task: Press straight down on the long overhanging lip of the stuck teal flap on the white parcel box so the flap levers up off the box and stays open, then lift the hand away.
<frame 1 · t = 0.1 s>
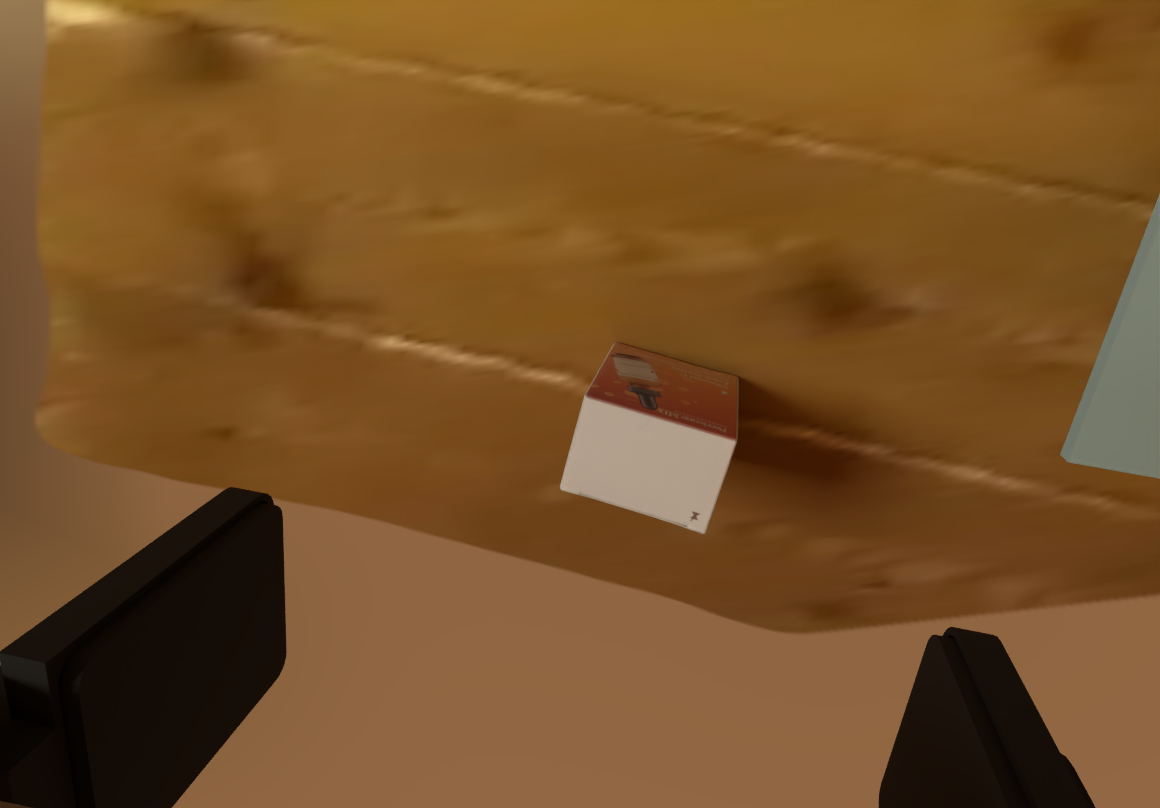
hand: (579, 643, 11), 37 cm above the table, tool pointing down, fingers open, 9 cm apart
small box: (663, 397, 48), on the table
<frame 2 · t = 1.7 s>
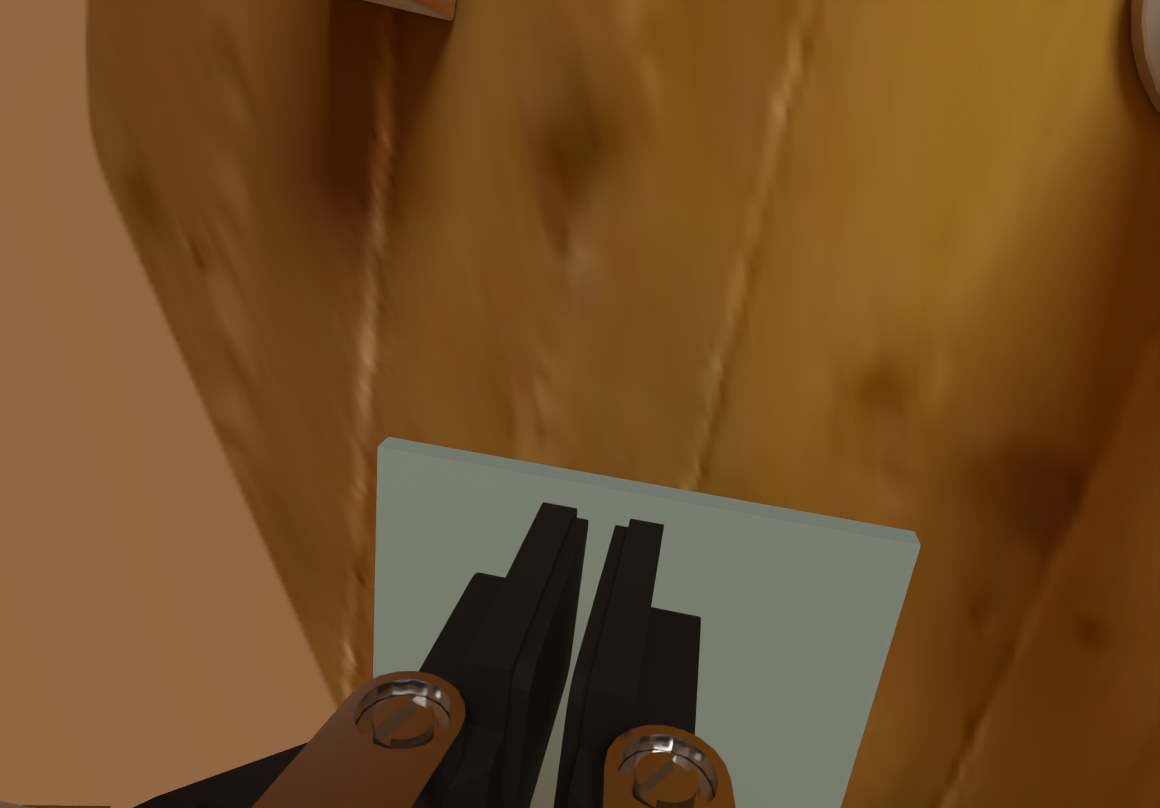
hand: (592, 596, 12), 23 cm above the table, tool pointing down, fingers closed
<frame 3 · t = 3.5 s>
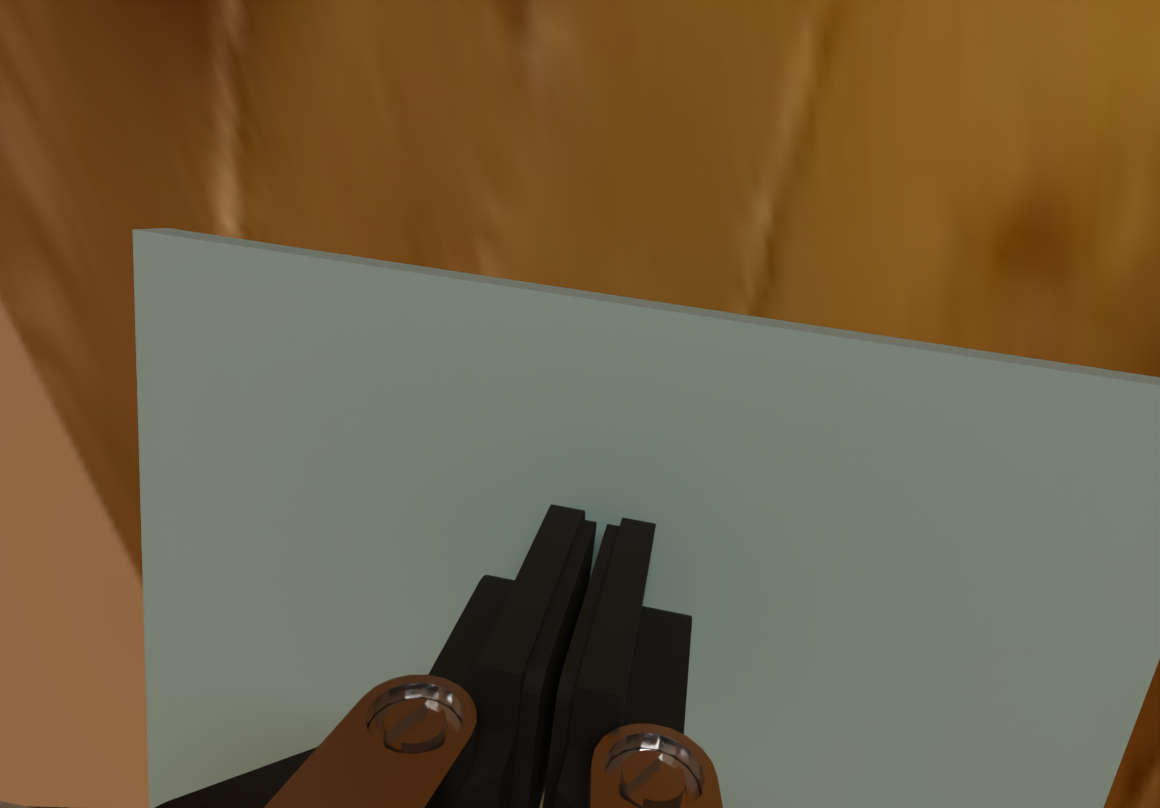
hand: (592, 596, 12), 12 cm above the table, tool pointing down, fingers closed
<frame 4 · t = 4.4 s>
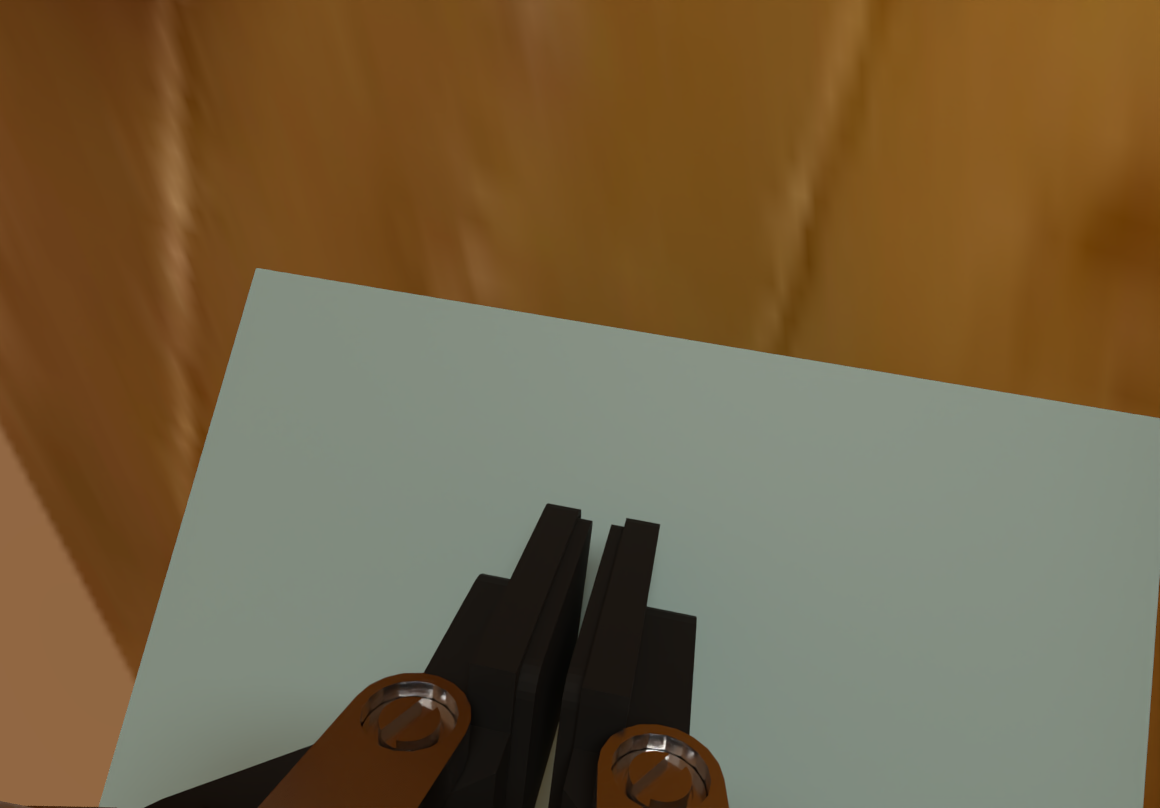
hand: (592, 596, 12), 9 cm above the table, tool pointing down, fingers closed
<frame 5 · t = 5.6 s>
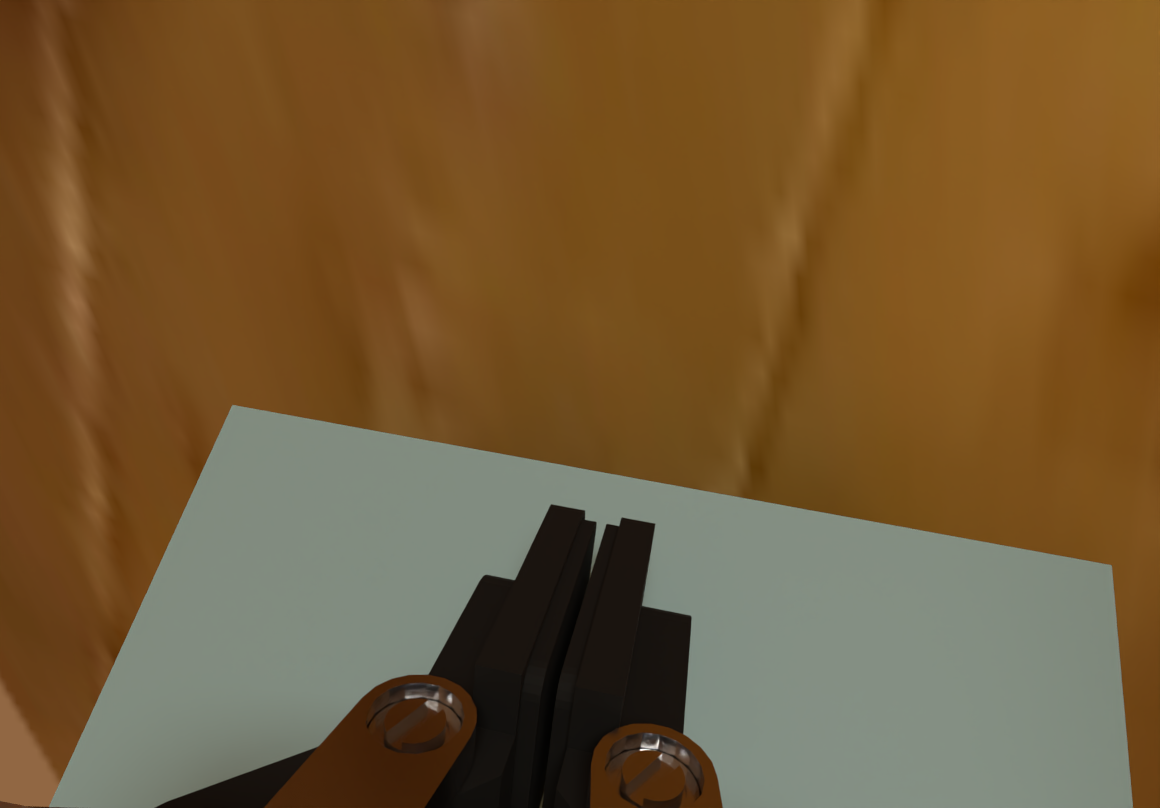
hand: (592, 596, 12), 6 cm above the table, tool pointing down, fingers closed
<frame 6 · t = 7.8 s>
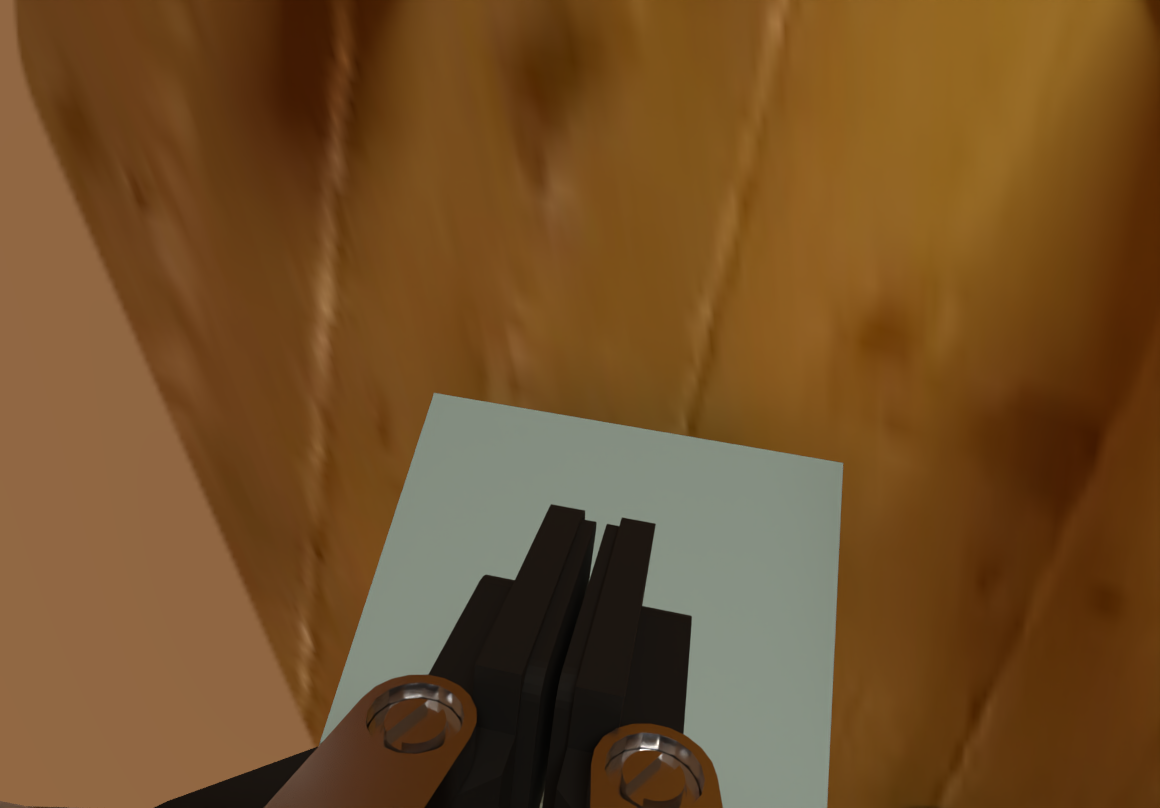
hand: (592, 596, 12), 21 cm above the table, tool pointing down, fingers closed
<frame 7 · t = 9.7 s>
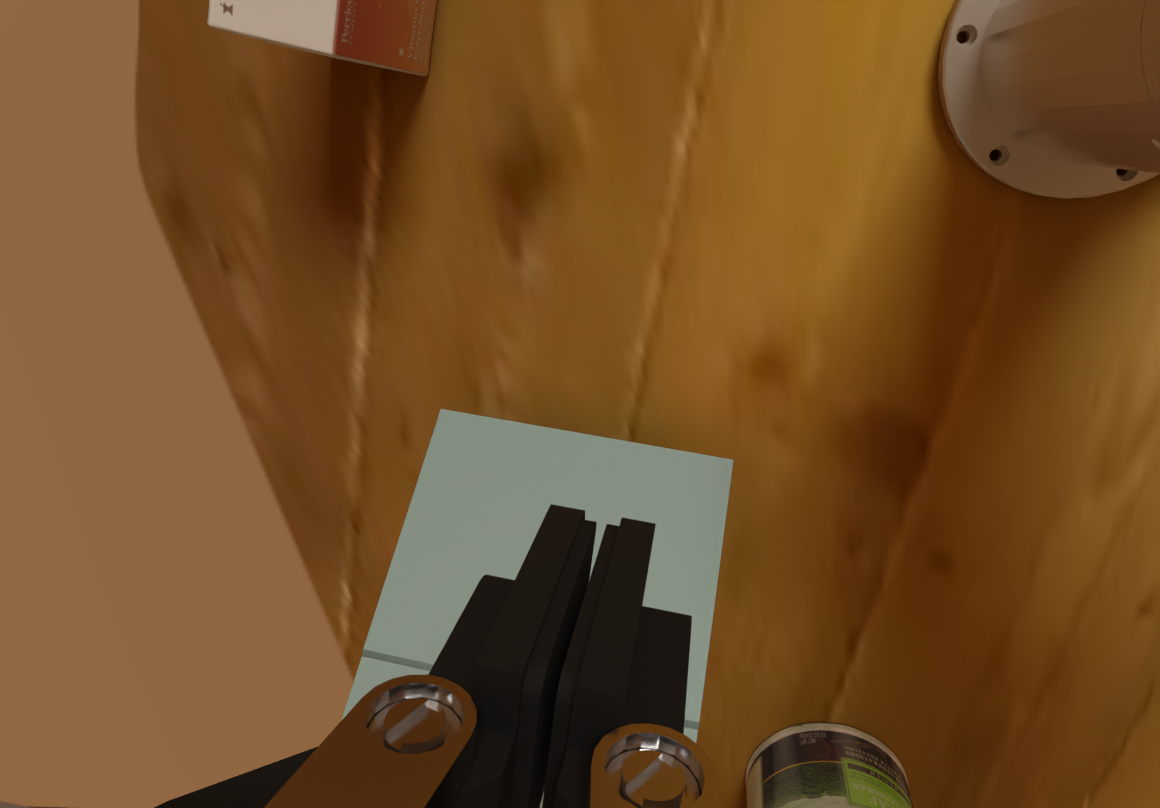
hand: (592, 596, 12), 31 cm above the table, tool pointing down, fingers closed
coffee can: (823, 782, 51), on the table
flap: (525, 695, 36), point 13 cm above the table, hinge at 47.0°
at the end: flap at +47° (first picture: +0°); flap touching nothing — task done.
